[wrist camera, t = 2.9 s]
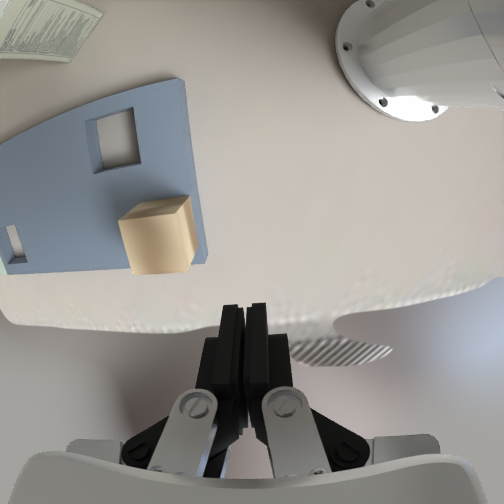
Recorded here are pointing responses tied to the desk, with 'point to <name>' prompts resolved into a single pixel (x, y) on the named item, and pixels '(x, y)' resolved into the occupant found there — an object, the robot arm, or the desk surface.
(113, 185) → the board
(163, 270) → the block
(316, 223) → the desk surface
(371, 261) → the desk surface
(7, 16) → the skincare box
